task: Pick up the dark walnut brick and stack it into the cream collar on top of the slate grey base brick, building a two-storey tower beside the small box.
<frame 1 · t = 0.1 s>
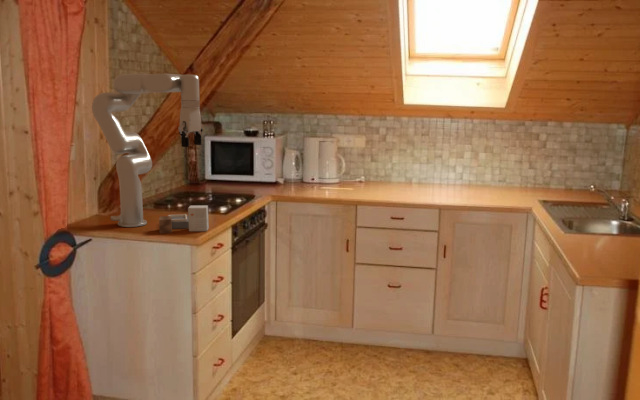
hand: (191, 145, 258), 37 cm above the worktop, tool pointing down, fingers open, 9 cm apart
small box: (198, 230, 268), on the worktop
walnut brick: (165, 231, 265), on the worktop
base brick: (177, 225, 276), on the worktop
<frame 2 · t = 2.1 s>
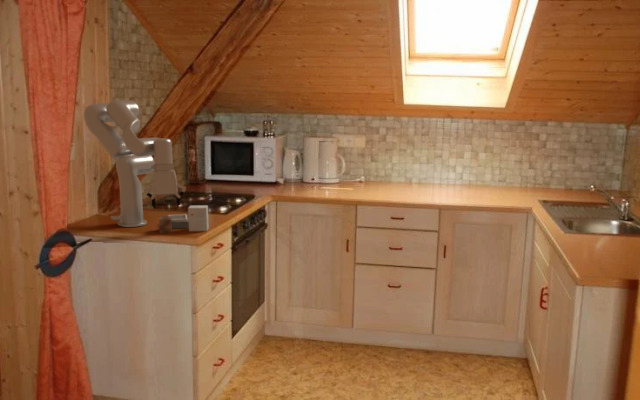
hand: (166, 207, 263), 11 cm above the worktop, tool pointing down, fingers open, 9 cm apart
nothing on the worktop moved.
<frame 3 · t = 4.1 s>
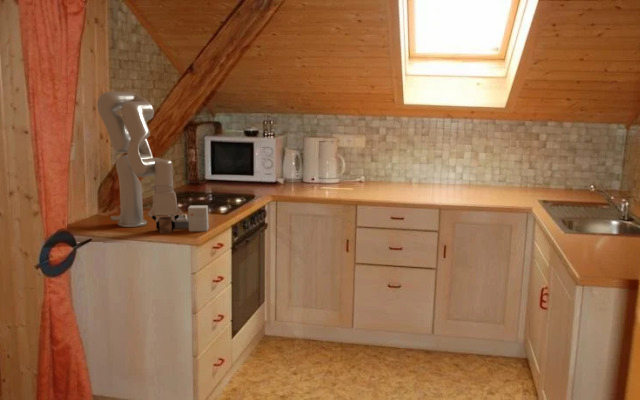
hand: (165, 229, 265), 1 cm above the worktop, tool pointing down, fingers closed on walnut brick, 5 cm apart
walnut brick: (165, 231, 265), on the worktop, touching gripper
everything else where it was.
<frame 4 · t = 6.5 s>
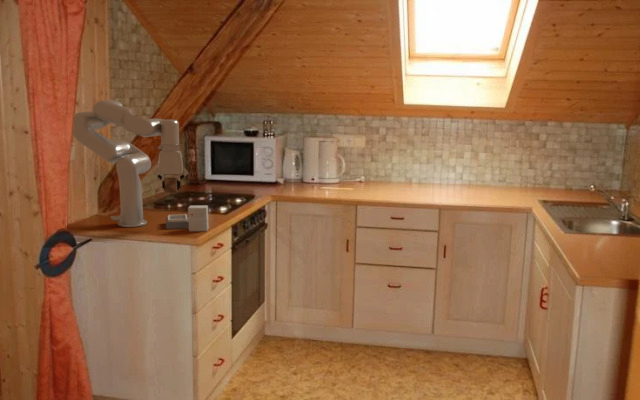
hand: (171, 189, 268), 17 cm above the worktop, tool pointing down, fingers closed on walnut brick, 5 cm apart
walnut brick: (171, 191, 268), point 16 cm above the worktop, touching gripper
everything else where it was.
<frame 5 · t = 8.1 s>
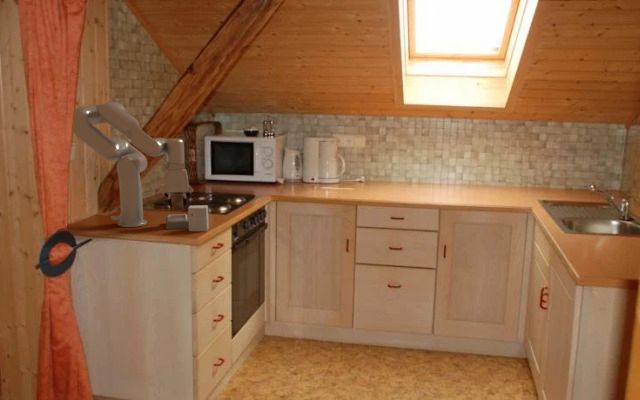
hand: (177, 206, 274), 9 cm above the worktop, tool pointing down, fingers closed on walnut brick, 5 cm apart
walnut brick: (177, 208, 274), point 8 cm above the worktop, touching gripper
everything else where it was.
when the fingers open (5 cm above the worktop, at t = 9.1 s): walnut brick drops 1 cm, resting on base brick.
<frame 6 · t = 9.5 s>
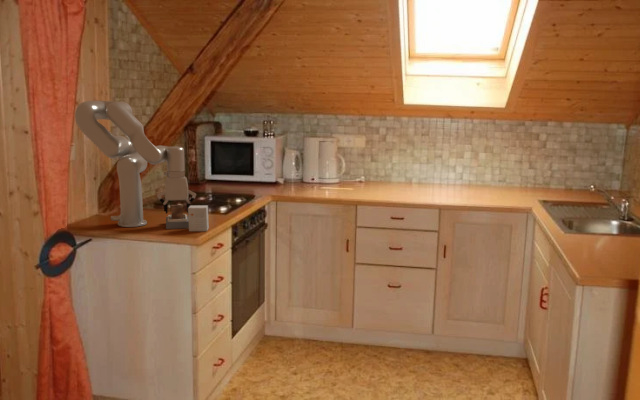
hand: (177, 212, 275), 6 cm above the worktop, tool pointing down, fingers open, 9 cm apart
walnut brick: (177, 219, 275), point 3 cm above the worktop, touching base brick
everything else where it was.
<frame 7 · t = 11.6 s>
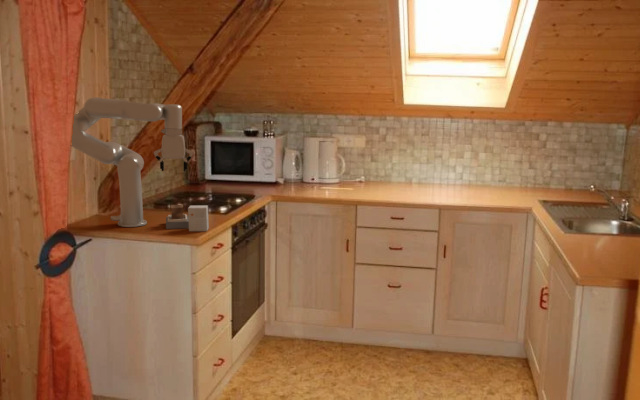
hand: (173, 170, 275), 24 cm above the worktop, tool pointing down, fingers open, 9 cm apart
nothing on the worktop moved.
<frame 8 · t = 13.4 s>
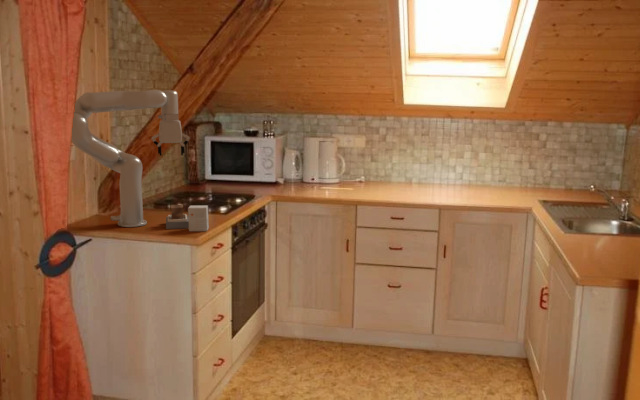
hand: (171, 155, 283), 30 cm above the worktop, tool pointing down, fingers open, 9 cm apart
nothing on the worktop moved.
at the end: walnut brick 0.4 cm off-centre on the base brick, point 3.0 cm above the base brick's base; walnut brick tilted 0°; the gripper is holding nothing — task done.
